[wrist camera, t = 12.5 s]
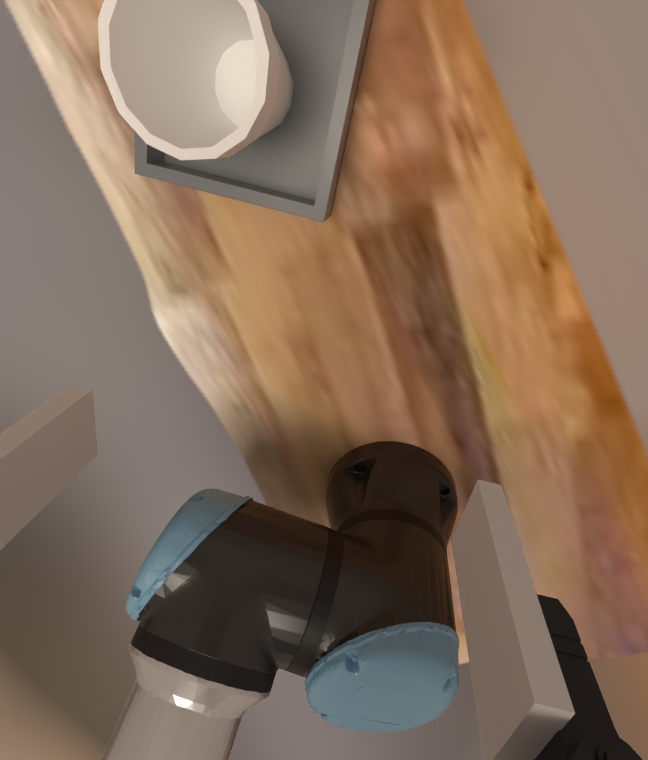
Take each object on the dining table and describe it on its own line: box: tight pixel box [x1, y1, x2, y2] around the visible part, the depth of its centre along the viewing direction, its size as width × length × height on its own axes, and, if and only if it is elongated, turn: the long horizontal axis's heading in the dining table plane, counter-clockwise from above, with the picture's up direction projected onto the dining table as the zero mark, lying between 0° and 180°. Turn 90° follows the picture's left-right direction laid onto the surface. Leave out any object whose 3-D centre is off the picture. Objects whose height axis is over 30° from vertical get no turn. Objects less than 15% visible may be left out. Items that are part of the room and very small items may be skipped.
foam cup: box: [98, 0, 294, 160], centre depth 29 cm, size 10×9×13 cm
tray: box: [135, 0, 376, 222], centre depth 34 cm, size 16×16×4 cm
